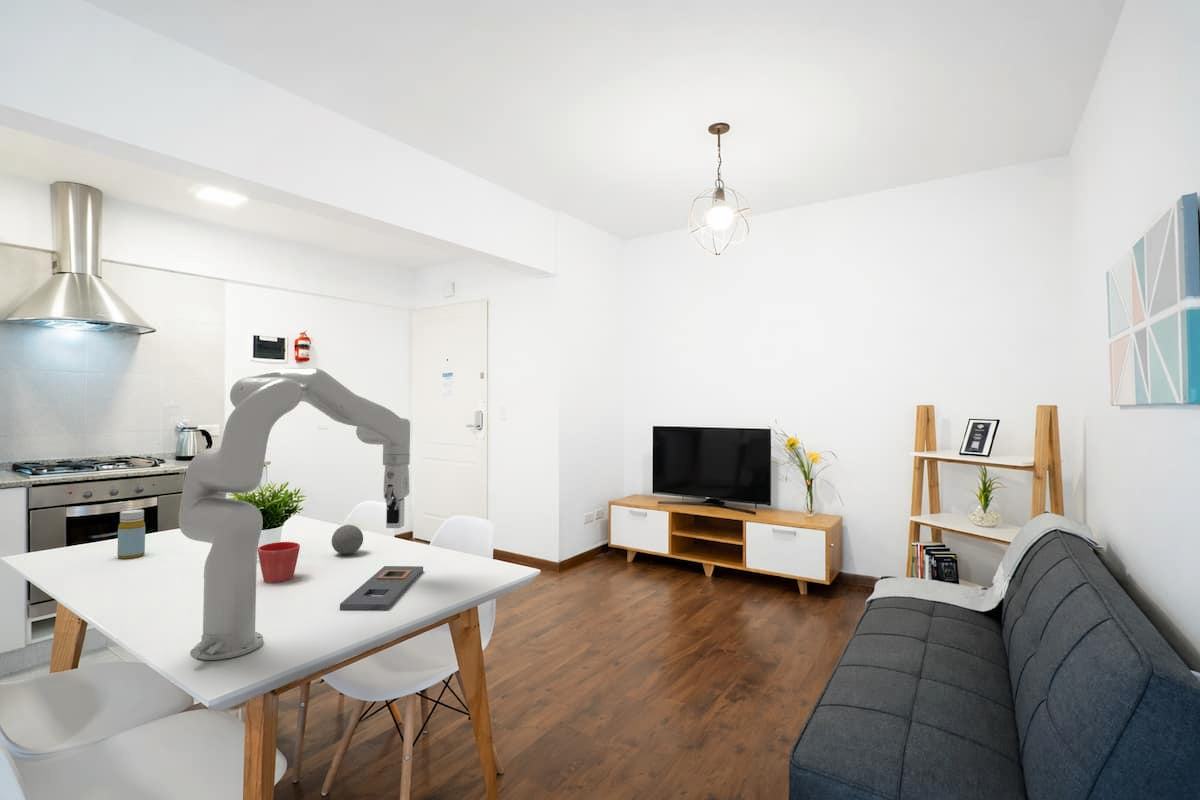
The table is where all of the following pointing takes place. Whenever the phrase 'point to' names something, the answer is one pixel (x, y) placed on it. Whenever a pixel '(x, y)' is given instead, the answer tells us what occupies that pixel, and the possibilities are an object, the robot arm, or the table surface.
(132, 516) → the bottle
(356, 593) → the grey board with holes
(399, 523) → the steel rectangular block
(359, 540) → the decorative ball
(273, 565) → the flower pot
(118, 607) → the table surface
